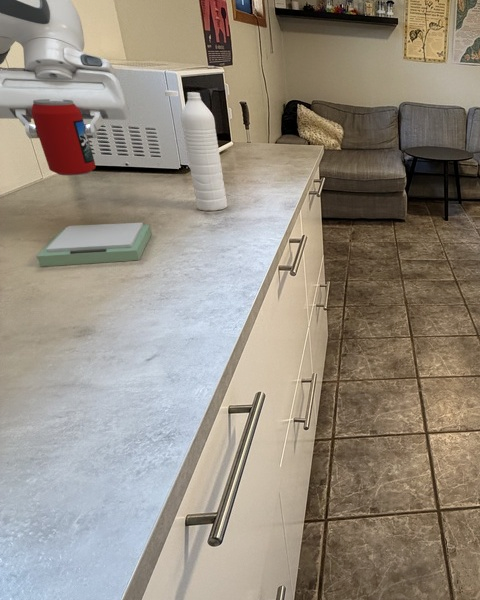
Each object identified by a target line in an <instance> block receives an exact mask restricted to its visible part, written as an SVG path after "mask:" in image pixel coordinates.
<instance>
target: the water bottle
mask: <svg viewBox="0 0 480 600" xmlns="http://www.w3.org/2000/svg"><path fill="white" fill-rule="evenodd" d="M164 95H165V96H166V97H179V96H180V95H179V91H178V90H169V89H168V90H164ZM180 121H181V125H182V131H183V136H184V143H185V147H186V151H187V152H186V153H187V160H188V162H189V170H190V172H191V173H190V176H191V178H192V179H191V181H192V187H193V192H194V196H195V204H196V208H197V209H198V210H201V211H204V212H208V211H210V212H215V211H218V210H219V211H221V210H225V209H226V208H227V207H228V199H227V196H226V189H225V182H224V174H223V169H222V163H221V153H220V151H219V150H220V149H219V144H218V141H219V140H218V136H217V129H216V122H215V121H216V120H215V116H214V115H213V113H212V112H211V110H210V109H209V108H208V107H207V105H206V104H205V103H204V102H203V100H202V96H201V93H200V92H195V91H191V92H190V91H188V92H187V101H186V103H185V105H184V107H183V109H182V111H181V113H180Z"/></svg>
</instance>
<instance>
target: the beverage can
mask: <svg viewBox="0 0 480 600" xmlns="http://www.w3.org/2000/svg"><path fill="white" fill-rule="evenodd" d="M49 100H50V99H41V100H33V103H34V104H33V106H32V110H31V113H32V117H33V119H32V120H33V122H34V123H33V124H35V126H36V130H37V133H38V136H39V138H38V139H39V142H40V145H41V149H42V150H43V154H44V157H45V160H46V164H47V166H48V169H49V171H50V172H52V173H55V174H57V175H59V176H66V177H69V176H71V177H74V176H75V177H76V176H83V175H87V174H90V173H92V171H94V170H95V169H96V167H97V165H96V162H95V159H94V154H93V151H92V147H91V143H90V138H87V136H86V135H85V132H84V129H85V128H84V124H85V122H84V119H83V118H82V114H81V111H80V110H79V109H78V108H77V107H76V105H75V104H74V103H73V101H71V100H63V101H49Z"/></svg>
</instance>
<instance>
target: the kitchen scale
mask: <svg viewBox="0 0 480 600" xmlns="http://www.w3.org/2000/svg"><path fill="white" fill-rule="evenodd" d="M152 235H153V232H152V228H151V225H150V224H144V222H128V223H104V224H103V223H101V224H82V225H67V227H65V228H62V229H61V230H60V231H59V232H58V234H56V236H54V238H53V239H51V241H50V242H49V243H48V244H47V245H46V246H45V247H44V248H43V249H42V250H41V251H40V252H39V253H38V254H37V255H36V258H37V261H38V264H39V267H43V268H44V267H54V266H55V267H56V266H57V267H58V266H70V265H72V266H73V265H85V264H86V265H87V264H103V263H117V262H130V261H131V262H132V261H139V260H140V259H141V257H142V255H143V253H144V252H145V249H146V247H147V244H148V242H149V240H150V238H151V236H152Z"/></svg>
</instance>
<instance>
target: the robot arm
mask: <svg viewBox="0 0 480 600" xmlns="http://www.w3.org/2000/svg"><path fill="white" fill-rule="evenodd" d="M83 30H84V29H83V25H82V21H81V18H80V14H79V12H78V10H77V8H76V7H75V5H74V3H73V2H72V0H0V65H2V64H3V63H4V62H5V60H6V58H7V56H8V54H9V52H10V50H11V49H12V46H13V45H14V43H17V44H19V45H20V46H21V47H22V49H23V63H24V65H23V66H24V67H1V66H0V119H2V120H3V119H6V120H7V119H8V120H9V119H15V120H17V119H18V120H19V122H20V124H22V126H24V130H25V131H24V132H25V134H26V136H27V137H28V139H39V136H38V133H37V130H36V126H35V123H32V120H33V117H32V113H31V110H32V106H33V104H34V103H33V100H41V99H50V100H49V101H63V100H71V101H73V103H74V104H75V105H76V107H77V108H78V109H79V110H80V111H81V114H82V118H83V120H91V121H90V123H89V124H88V123H87V124H85V123H84V128H85V129H84V132H85V135H86V136H87V138H88V139H98V131H99V129H100V128H101V127H102V126H103V124H104V120H108V121H109V120H111V121H112V120H113V121H115V120H118V121H120V120H121V121H124V120H127V119H128V118H129V117H130V108H129V104H128V101H127V99H126V95H125V92H124V90H123V88H122V85H121V82H120V80H119V79H118V78H117V75H116V71H115V69H114V67H113V66H112V64H111V62H110V61H109V60H108V59H106V58H103V57H99V56H95V55H92V54H89V53H86V52H84V49H85V35H84V31H83Z"/></svg>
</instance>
